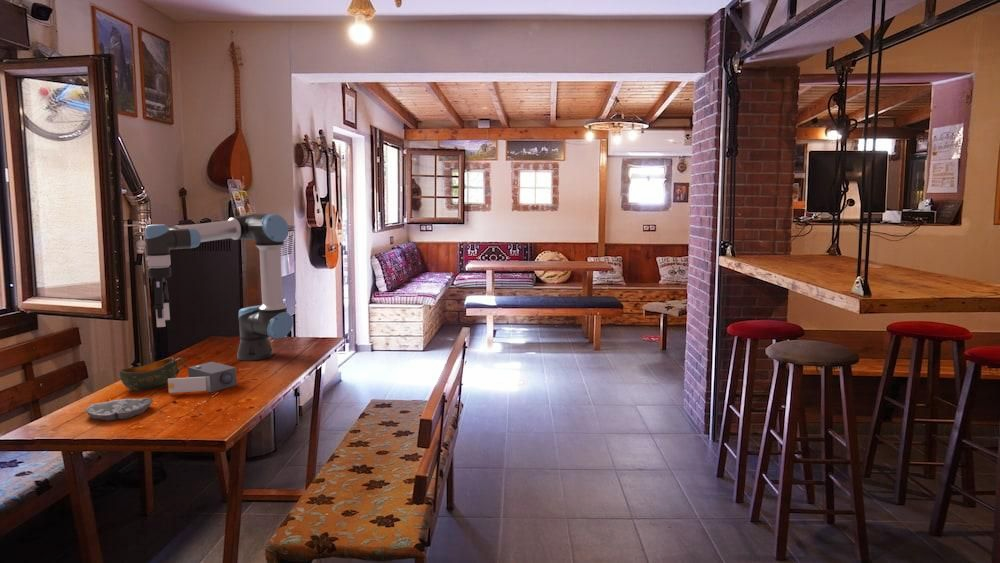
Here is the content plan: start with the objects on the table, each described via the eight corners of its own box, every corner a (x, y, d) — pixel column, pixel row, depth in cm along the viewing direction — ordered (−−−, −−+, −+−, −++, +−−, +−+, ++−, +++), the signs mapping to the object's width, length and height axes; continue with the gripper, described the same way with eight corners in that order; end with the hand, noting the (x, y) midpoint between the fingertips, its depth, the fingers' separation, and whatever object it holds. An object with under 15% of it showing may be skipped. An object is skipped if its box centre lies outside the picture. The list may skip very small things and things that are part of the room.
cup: (175, 391, 237) (172, 365, 235) (118, 393, 234) (115, 367, 233) (187, 380, 250) (185, 356, 248) (133, 383, 247) (131, 358, 246)
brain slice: (80, 427, 201) (79, 418, 200) (90, 411, 216) (90, 402, 216) (150, 418, 208) (149, 410, 208) (155, 403, 224) (154, 395, 223)
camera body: (213, 378, 252) (212, 360, 251) (239, 385, 243) (238, 366, 241) (189, 384, 244) (187, 365, 243) (215, 392, 234) (213, 372, 233)
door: (169, 393, 233) (168, 378, 232) (211, 391, 235) (210, 376, 235) (168, 395, 231) (167, 379, 230) (210, 392, 234) (208, 377, 233)
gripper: (152, 263, 241) (157, 318, 244) (142, 270, 218) (147, 330, 221) (174, 262, 244) (178, 316, 247) (166, 269, 221) (170, 329, 224)
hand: (163, 323), depth 234 cm, fingers open, 13 cm apart
